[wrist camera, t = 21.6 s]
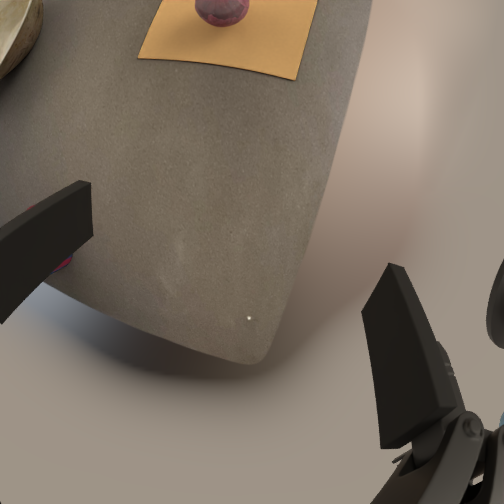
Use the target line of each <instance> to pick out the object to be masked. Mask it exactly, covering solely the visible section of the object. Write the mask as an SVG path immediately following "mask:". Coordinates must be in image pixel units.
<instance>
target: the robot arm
mask: <svg viewBox="0 0 504 504" xmlns="http://www.w3.org/2000/svg"><path fill="white" fill-rule="evenodd" d="M92 236H93V224H92V204H91V183H90V182H86V181H81V180H78V181H76V182H75V183H73V184H71V185H69V186H67V187H65V188H63V189H62V190H60V191H58V192H56V193H54V194H53V195H51V196H49V197H48V198H46V199H44V200H42V201H41V202H39V203H37V204H36V205H34V206H33V207H31V208H29V209H28V210H26V211H25V212H23V213H22V214H20V215H18V216H17V217H15V218H14V219H12V220H11V221H9V222H8V223H7V224H5V225H4V226H2V227H1V228H0V323H1V324H3V323H4V322H5V320H6V319H7V318H8V317H9V316H10V315H11V314H12V312H13V311H14V310H15V309H16V308H17V307H18V306H19V305H20V304H21V303H22V302H23V300H25V299H26V298H27V297H28V296H29V295H30V294H31V293H32V292H33V291H34V289H35V288H37V287H38V286H39V285H40V283H42V282H43V281H44V280H45V279H46V278H47V277H48V276H49V275H50V274H51V273H52V272H53V271H54V270H55V269H56V268H57V267H58V266H59V265H61V264H62V263H63V262H64V261H65V260H66V259H67V258H68V257H69V256H70V255H72V254H73V253H74V252H75V251H76V250H77V249H78V248H80V247H81V246H82V245H83V244H84V243H85V242H87V241H88V240H89V239H90V238H91V237H92ZM361 313H362V318H363V323H364V328H365V333H366V339H367V344H368V350H369V356H370V362H371V367H372V375H373V381H374V389H375V397H376V405H377V414H378V424H379V433H380V447H381V449H398V448H401V447H403V446H404V445H406V444H407V443H409V442H412V449H410V450H409V451H407V452H405V453H404V454H402V455H400V456H399V457H397V458H395V459H394V460H393V461H392V463H396V462H398V461H399V460H401V459H402V460H401V462H400V464H399V465H397V468H396V470H395V471H394V473H393V474H392V475H391V477H390V478H389V480H388V481H387V482H386V484H385V485H384V486H383V488H382V489H381V491H380V492H379V493H378V494H377V496H376V497H375V498H374V500H373V501H372V502H371V503H370V504H504V413H503V414H502V416H501V419H500V424H499V428H498V429H496V430H495V431H494V432H492V431H489V430H486V429H484V427H483V424H482V422H481V419H480V418H479V417H478V416H477V415H476V414H475V413H473V412H470V411H466V410H465V406H464V403H463V400H462V396H461V393H460V390H459V386H458V383H457V380H456V377H455V376H454V371H453V368H452V367H451V363H450V360H449V357H448V355H447V352H446V351H445V350H444V348H443V347H442V345H441V344H440V343H439V342H438V341H436V339H435V336H434V334H433V331H432V329H431V327H430V324H429V322H428V319H427V317H426V314H425V312H424V310H423V307H422V305H421V303H420V301H419V298H418V296H417V294H416V292H415V290H414V288H413V285H412V283H411V281H410V279H409V277H408V275H407V273H406V271H405V269H404V267H401V266H398V265H395V264H392V263H388V266H387V267H386V269H385V271H384V273H383V275H382V276H381V278H380V280H379V282H378V284H377V285H376V287H375V289H374V291H373V292H372V294H371V296H370V298H369V299H368V301H367V303H366V304H365V306H364V308H363V310H362V311H361ZM483 473H484V475H483V481H481V482H479V483H477V484H476V485H473V484H472V483H473V479H474V478H476V477H478V476H480V475H482V474H483ZM0 504H1V502H0Z"/></svg>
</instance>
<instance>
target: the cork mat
mask: <svg viewBox="0 0 504 504" xmlns="http://www.w3.org/2000/svg"><path fill="white" fill-rule="evenodd" d="M317 1H318V0H249V9H248V12H247V14H246V16H245V17H244V18H243V19H242V20H241V21H240V22H238V23H236V24H234V25H232V26H228V27H216V26H212V25H210V24H208V23H207V22H205V21H204V20H203V19H202V18H201V17H200V16H199V15H198V13H197V12H196V10H195V0H163V1H162V3H161V5H160V7H159V9H158V11H157V13H156V15H155V17H154V20H153V22H152V24H151V26H150V29H149V31H148V33H147V36H146V38H145V40H144V43H143V45H142V48H141V50H140V53H139V56H138V58H140V59H166V60H180V61H191V62H200V63H208V64H215V65H222V66H229V67H234V68H240V69H246V70H251V71H256V72H260V73H265V74H269V75H274V76H278V77H282V78H286V79H290V80H293V81H295V79H296V76H297V72H298V69H299V65H300V61H301V58H302V54H303V51H304V47H305V43H306V40H307V36H308V33H309V29H310V26H311V22H312V19H313V15H314V11H315V8H316V4H317Z"/></svg>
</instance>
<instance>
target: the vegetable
mask: <svg viewBox="0 0 504 504" xmlns="http://www.w3.org/2000/svg"><path fill="white" fill-rule="evenodd" d="M248 9H249V0H195V10H196V12H197V13H198V15H199V16H200V17H201V18H202V19H203V20H204V21H205V22H207V23H208V24H210V25H212V26H216V27H228V26H232V25H234V24H236V23H238V22H240V21H241V20H242V19H243V18H244V17H245V16H246V14H247V12H248Z"/></svg>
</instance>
